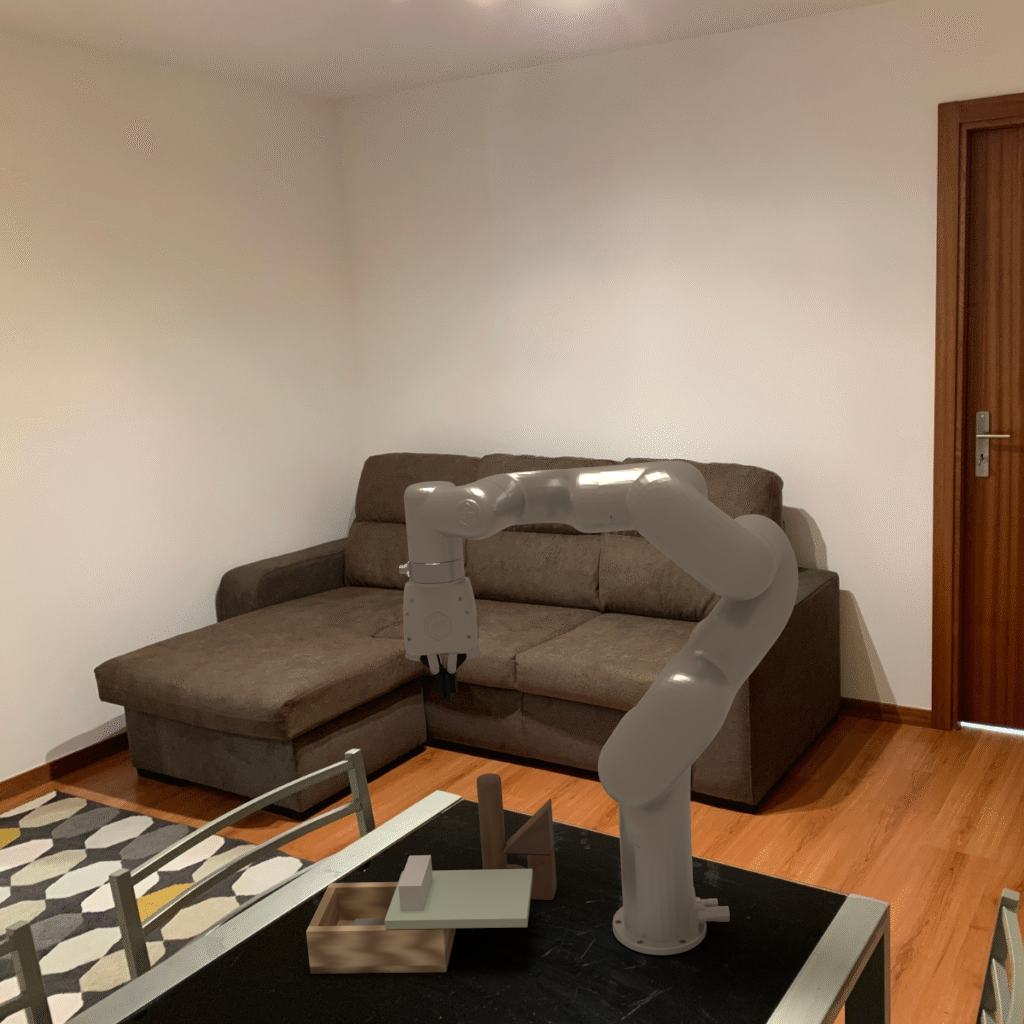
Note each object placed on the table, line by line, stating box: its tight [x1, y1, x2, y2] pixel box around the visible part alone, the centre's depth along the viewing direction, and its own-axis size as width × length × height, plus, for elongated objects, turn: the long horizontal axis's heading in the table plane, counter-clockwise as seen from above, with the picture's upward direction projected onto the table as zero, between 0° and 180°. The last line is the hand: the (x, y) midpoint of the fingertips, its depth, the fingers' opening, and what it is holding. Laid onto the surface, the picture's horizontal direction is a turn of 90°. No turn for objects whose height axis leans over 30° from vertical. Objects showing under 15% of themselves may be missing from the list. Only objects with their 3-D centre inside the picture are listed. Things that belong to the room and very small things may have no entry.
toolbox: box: [305, 881, 457, 975], centre depth 137 cm, size 18×12×6 cm, turn 85°
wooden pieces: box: [476, 772, 557, 901], centre depth 148 cm, size 4×11×18 cm, turn 80°
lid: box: [385, 854, 533, 929], centre depth 136 cm, size 18×12×5 cm
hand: (447, 697), depth 143 cm, fingers closed
